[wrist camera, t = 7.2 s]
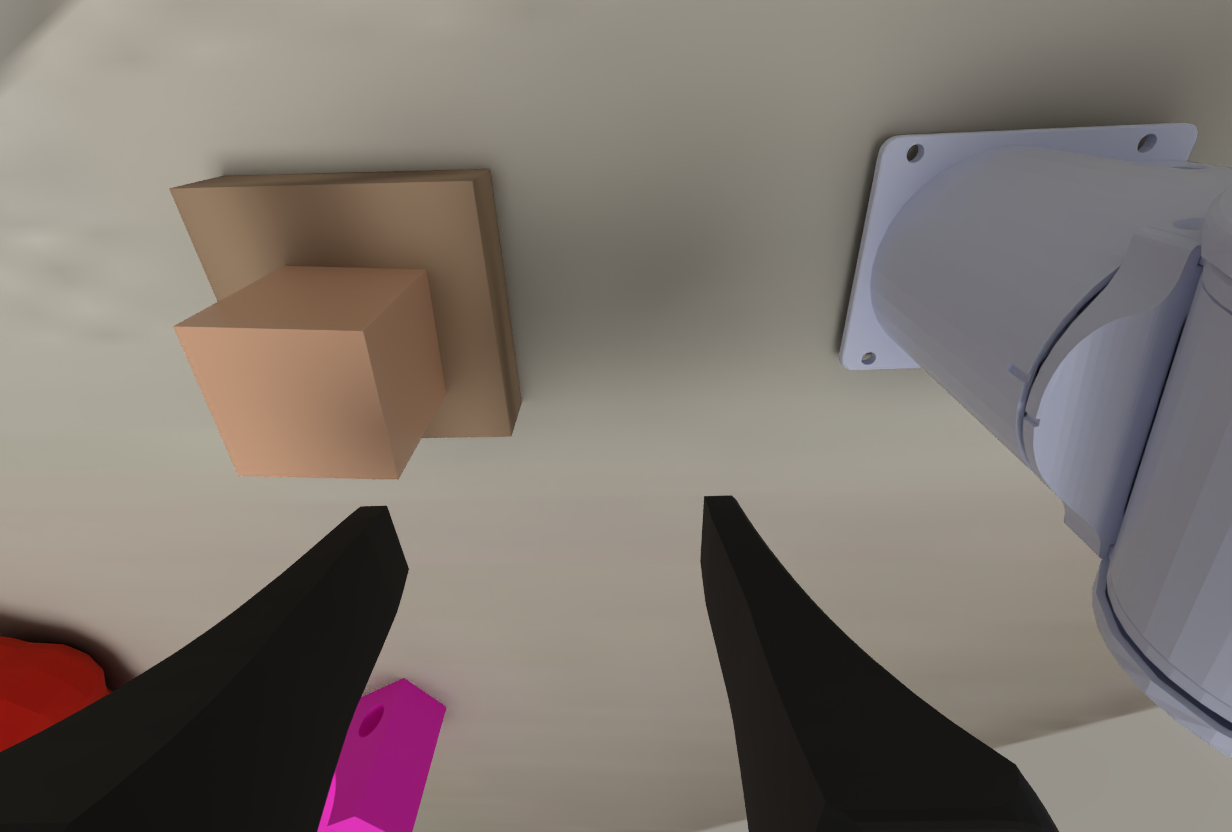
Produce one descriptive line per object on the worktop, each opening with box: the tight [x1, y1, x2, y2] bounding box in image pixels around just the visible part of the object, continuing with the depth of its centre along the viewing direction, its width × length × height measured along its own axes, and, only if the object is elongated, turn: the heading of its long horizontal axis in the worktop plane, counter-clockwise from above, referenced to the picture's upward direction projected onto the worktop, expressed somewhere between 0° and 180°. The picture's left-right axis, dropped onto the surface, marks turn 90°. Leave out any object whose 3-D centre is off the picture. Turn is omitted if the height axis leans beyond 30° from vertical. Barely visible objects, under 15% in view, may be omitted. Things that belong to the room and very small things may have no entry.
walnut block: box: [170, 169, 522, 438], centre depth 19 cm, size 9×9×3 cm
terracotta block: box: [173, 266, 446, 479], centre depth 16 cm, size 4×4×5 cm
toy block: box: [317, 678, 446, 832], centre depth 34 cm, size 15×6×8 cm, turn 124°
